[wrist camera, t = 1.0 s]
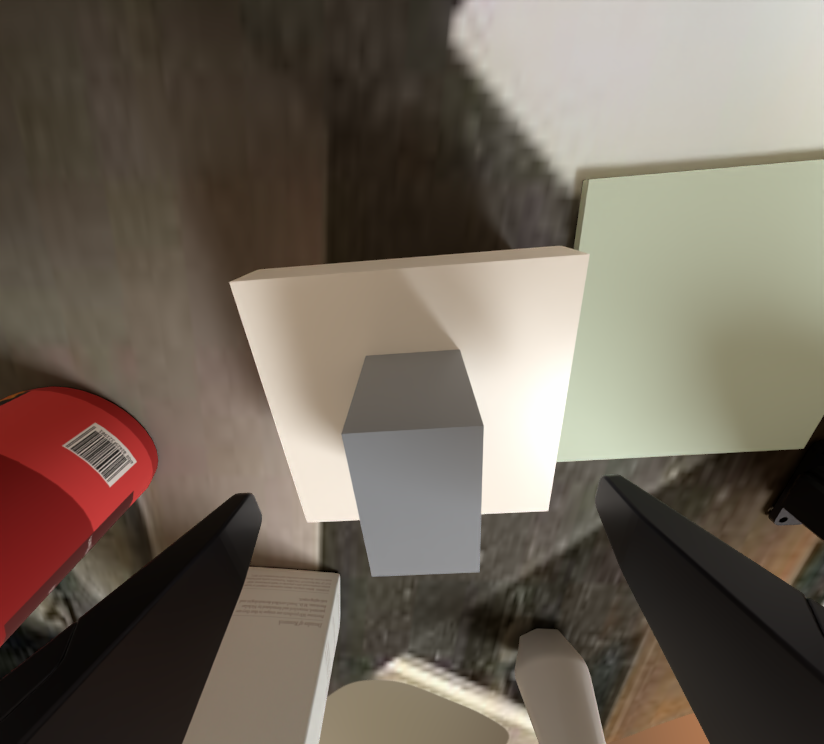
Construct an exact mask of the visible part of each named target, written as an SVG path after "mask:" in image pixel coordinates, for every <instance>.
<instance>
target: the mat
mask: <svg viewBox="0 0 824 744" xmlns="http://www.w3.org/2000/svg"><path fill="white" fill-rule="evenodd" d="M574 250H578V251H581V252H585V253H588V254H590V256H589V262H588V269H587V275H586V281H585V287H584V293H583V299H582V306H581V312H580V318H579V324H578V330H577V336H576V342H575V349H574V355H573V361H572V367H571V373H570V379H569V386H568V392H567V398H566V404H565V410H564V416H563V423H562V429H561V435H560V441H559V447H558V453H557V459H556V462H565V461H583V460H602V459H620V458H639V457H658V456H676V455H695V454H714V453H732V452H751V451H769V450H788V449H804V447H805V446H806V444H807V442H808V441H809V439H810V437H811V436H812V434H813V432H814V430H815V429H816V427H817V425H818V424H819V422H820V420H821V419H822V417H823V415H824V159H820V160H809V161H797V162H785V163H774V164H762V165H750V166H739V167H727V168H716V169H704V170H692V171H681V172H669V173H657V174H646V175H634V176H623V177H611V178H599V179H588V180H583V185H582V192H581V200H580V207H579V214H578V221H577V228H576V235H575V242H574Z"/></svg>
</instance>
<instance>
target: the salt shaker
mask: <svg viewBox="0 0 824 744" xmlns="http://www.w3.org/2000/svg"><path fill="white" fill-rule="evenodd" d="M515 678H516V681H517V684H518V687H519V690H520V692H521V695H522V698H523V701H524V703H525V706H526V709H527V712H528V714H529V717H530V720H531V723H532V725H533V728H534V731H535V734H536V737H537V739H538V742H539V744H606V743H605V739H604V734H603V730H602V725H601V721H600V716H599V712H598V708H597V703H596V699H595V694H594V690H593V685H592V681H591V677H590V673H589V670H588V667H587V665H586V663H585V661H584V660H583V658H582V657H581V656H580V655H579V653H578V652H577V651H576V650H575V649H574V648H573V646H572V645H571V644H570V643H569V642H568V641H567V639H566V638H565V637H564V636H563V635H562V634H561V633H560V631H559V630H558V629H538V628H536V629H534V630H532V631H530V632H528V633H526V634H524V635H522V636H520V638H519V648H518V654H517V660H516V665H515Z"/></svg>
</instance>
